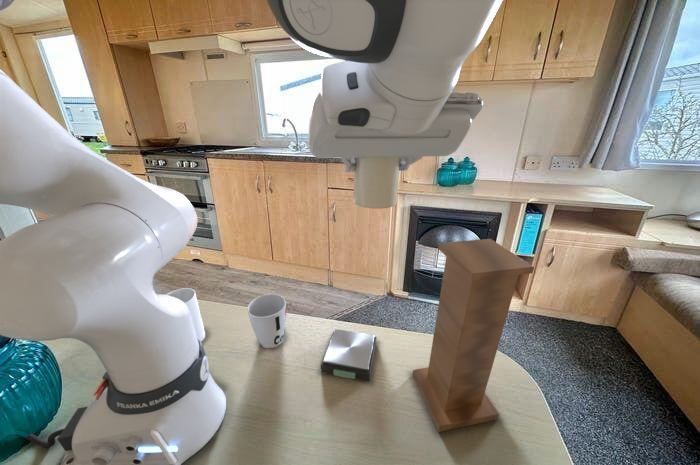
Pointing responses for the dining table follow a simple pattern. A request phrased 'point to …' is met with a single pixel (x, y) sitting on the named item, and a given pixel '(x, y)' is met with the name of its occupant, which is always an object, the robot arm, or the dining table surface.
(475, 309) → the stand
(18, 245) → the robot arm
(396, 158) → the cream mug
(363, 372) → the scale
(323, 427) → the dining table surface
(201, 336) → the mug
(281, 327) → the cup
